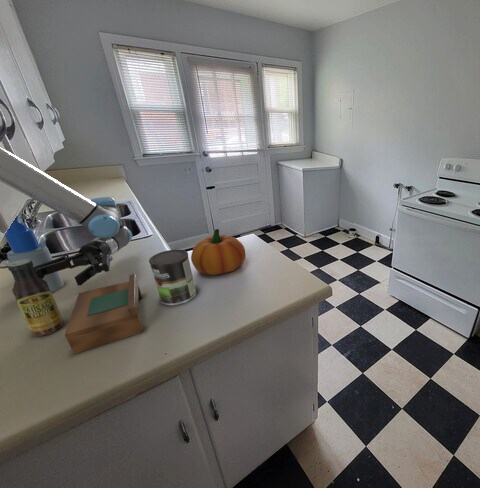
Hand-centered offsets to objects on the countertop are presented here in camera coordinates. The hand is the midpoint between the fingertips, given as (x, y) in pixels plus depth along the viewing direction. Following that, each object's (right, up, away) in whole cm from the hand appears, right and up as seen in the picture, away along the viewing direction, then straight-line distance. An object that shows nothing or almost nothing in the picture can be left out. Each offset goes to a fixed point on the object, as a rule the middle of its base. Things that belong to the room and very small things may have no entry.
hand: (49, 283), depth 73 cm
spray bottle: (-19, -4, +17) cm, 26 cm away
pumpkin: (+34, +2, +31) cm, 46 cm away
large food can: (+28, -6, +13) cm, 31 cm away
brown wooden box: (+15, -11, +3) cm, 19 cm away
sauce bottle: (+1, -12, 0) cm, 12 cm away
